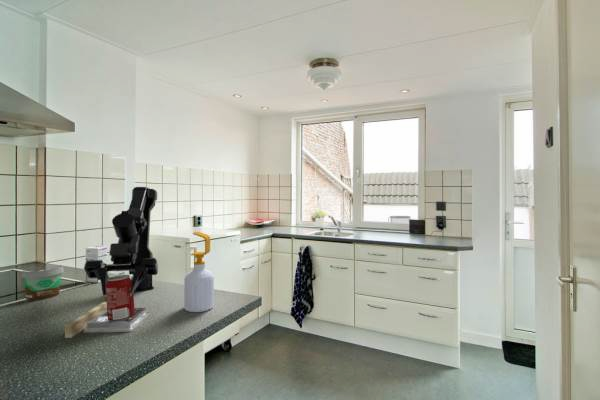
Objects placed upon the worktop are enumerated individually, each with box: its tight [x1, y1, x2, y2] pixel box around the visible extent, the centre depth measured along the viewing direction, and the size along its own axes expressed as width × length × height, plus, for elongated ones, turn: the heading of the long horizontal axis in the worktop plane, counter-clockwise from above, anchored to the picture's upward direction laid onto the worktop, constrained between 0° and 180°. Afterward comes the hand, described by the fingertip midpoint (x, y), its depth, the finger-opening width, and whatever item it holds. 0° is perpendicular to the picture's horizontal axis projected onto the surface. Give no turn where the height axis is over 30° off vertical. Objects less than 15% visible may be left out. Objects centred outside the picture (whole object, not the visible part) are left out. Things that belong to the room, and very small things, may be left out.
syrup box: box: [85, 245, 108, 284], centre depth 134 cm, size 6×6×14 cm
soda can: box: [105, 274, 136, 321], centre depth 92 cm, size 7×7×12 cm
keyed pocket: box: [83, 307, 150, 334], centre depth 92 cm, size 12×12×2 cm
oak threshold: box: [64, 301, 107, 339], centre depth 91 cm, size 18×2×3 cm, turn 4°
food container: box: [20, 264, 65, 301], centre depth 113 cm, size 12×6×10 cm, turn 148°
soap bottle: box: [183, 231, 215, 313], centre depth 104 cm, size 9×9×25 cm
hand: (117, 294), depth 90 cm, fingers open, 6 cm apart
